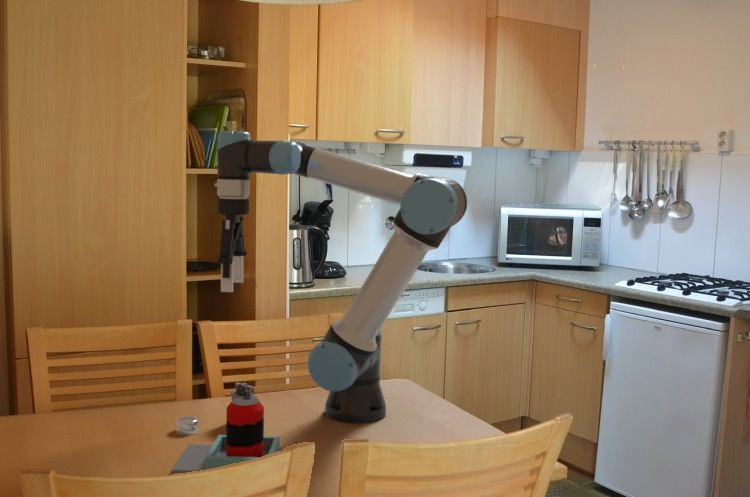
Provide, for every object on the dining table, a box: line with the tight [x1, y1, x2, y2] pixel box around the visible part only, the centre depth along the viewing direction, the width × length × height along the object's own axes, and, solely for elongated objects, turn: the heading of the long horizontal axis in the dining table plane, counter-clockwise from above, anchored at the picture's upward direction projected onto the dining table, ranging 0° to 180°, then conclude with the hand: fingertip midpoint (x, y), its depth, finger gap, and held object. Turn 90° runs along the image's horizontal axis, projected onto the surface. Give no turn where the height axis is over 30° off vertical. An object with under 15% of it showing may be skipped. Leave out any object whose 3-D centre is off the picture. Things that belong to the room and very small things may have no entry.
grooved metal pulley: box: [175, 415, 200, 436], centre depth 180 cm, size 5×3×5 cm
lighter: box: [230, 382, 258, 401], centre depth 185 cm, size 8×3×10 cm, turn 47°
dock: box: [171, 434, 283, 475], centre depth 162 cm, size 20×14×4 cm
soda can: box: [225, 397, 265, 457], centre depth 162 cm, size 8×8×12 cm
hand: (232, 287), depth 188 cm, fingers open, 13 cm apart
